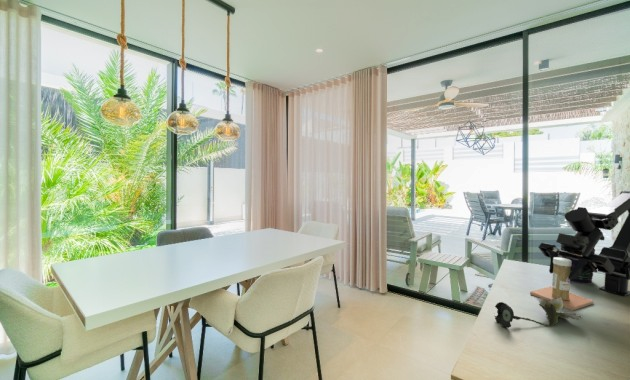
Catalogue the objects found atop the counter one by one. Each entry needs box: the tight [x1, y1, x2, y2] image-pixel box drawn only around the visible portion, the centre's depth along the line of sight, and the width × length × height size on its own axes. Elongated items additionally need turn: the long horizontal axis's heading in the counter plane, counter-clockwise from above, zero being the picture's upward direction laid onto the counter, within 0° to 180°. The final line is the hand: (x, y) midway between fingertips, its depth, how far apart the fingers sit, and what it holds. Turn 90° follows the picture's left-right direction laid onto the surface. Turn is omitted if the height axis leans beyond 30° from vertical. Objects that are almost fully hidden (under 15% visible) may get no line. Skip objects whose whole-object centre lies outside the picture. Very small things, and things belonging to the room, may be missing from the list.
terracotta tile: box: [529, 285, 594, 311], centre depth 91 cm, size 12×12×1 cm
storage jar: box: [560, 244, 596, 285], centre depth 108 cm, size 10×10×15 cm
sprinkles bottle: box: [551, 257, 572, 300], centre depth 90 cm, size 5×5×13 cm
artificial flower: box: [493, 297, 583, 328], centre depth 77 cm, size 9×22×10 cm, turn 91°
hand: (559, 275), depth 89 cm, fingers open, 5 cm apart
